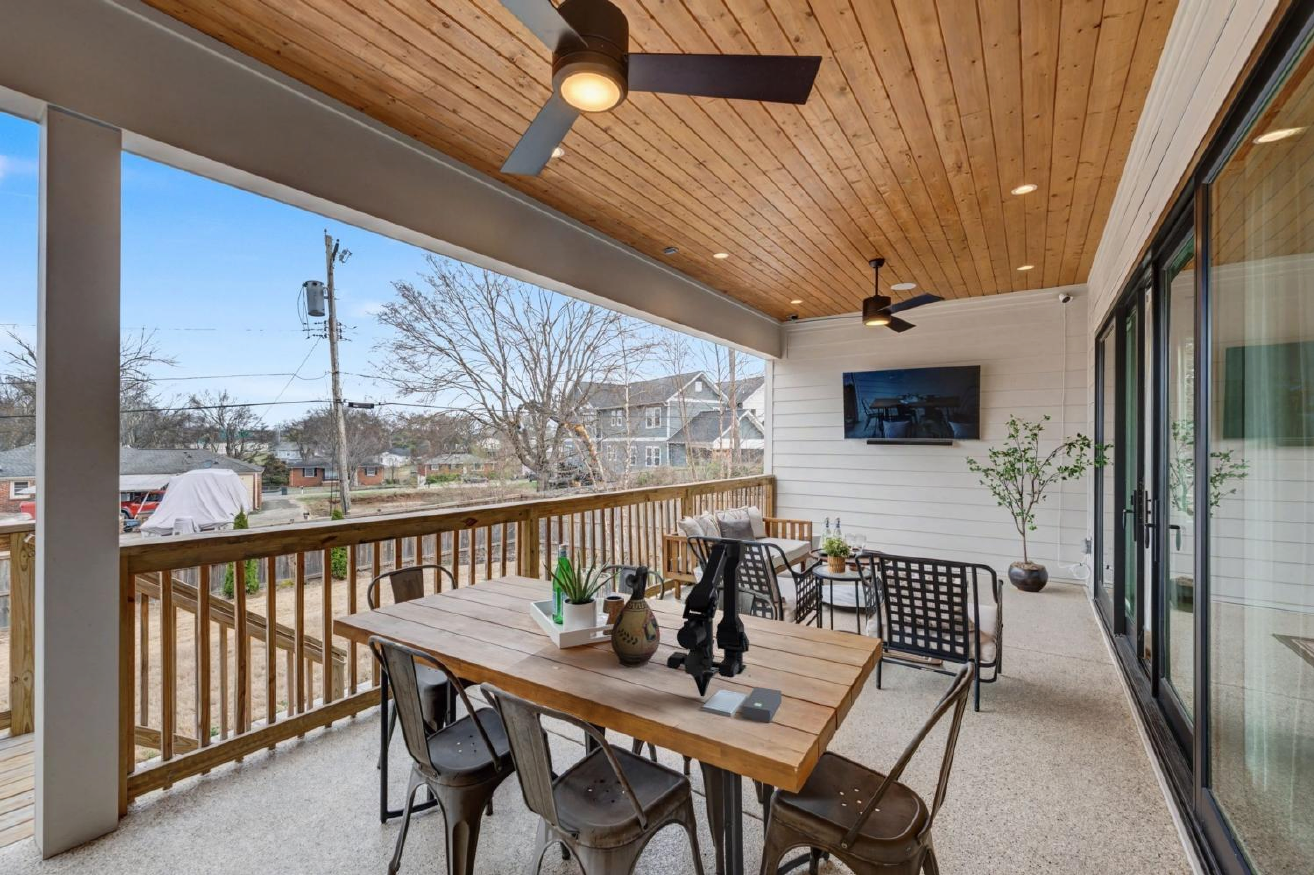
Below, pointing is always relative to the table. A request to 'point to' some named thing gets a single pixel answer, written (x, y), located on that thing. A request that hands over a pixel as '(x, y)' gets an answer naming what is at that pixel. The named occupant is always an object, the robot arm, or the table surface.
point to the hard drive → (724, 703)
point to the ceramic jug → (636, 625)
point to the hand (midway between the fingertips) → (702, 695)
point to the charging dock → (761, 704)
